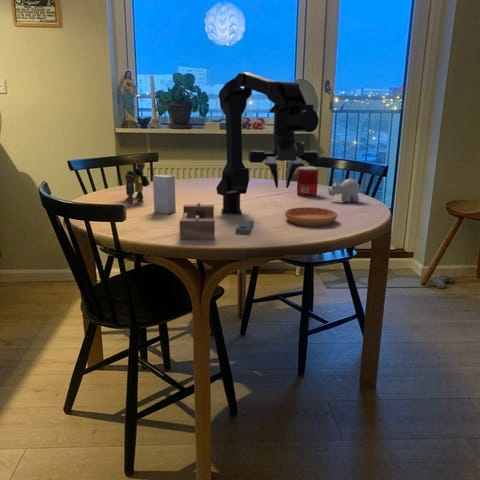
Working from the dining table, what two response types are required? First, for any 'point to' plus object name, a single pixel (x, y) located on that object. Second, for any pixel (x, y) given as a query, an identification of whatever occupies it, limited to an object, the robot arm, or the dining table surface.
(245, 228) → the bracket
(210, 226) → the open box
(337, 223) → the dining table surface
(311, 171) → the canned food
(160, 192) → the skincare box
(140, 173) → the dark toy figure
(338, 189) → the toy rhinoceros
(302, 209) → the saucer
